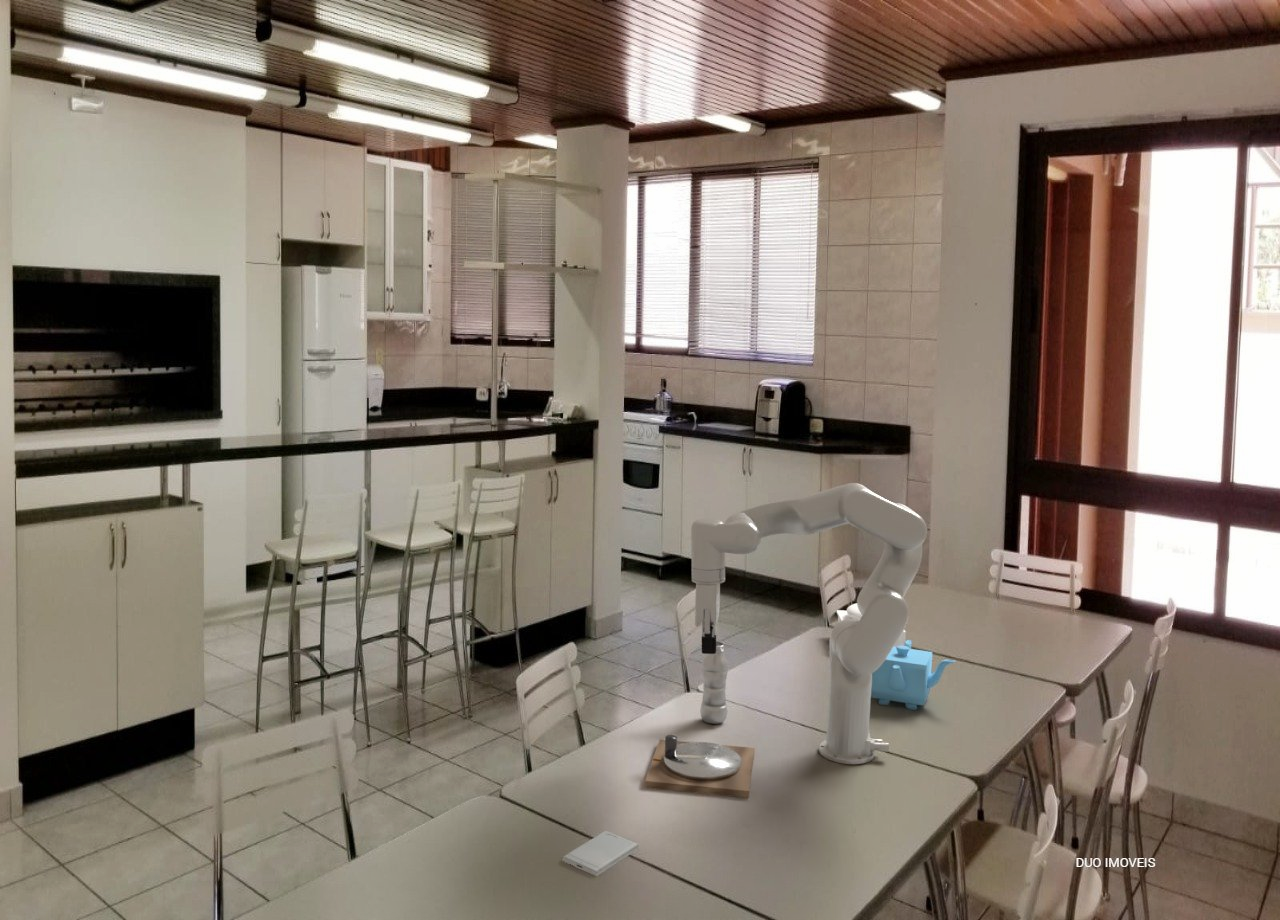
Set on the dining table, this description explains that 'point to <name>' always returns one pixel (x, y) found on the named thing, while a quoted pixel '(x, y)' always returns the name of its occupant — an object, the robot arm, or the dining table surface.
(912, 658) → the teakettle
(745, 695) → the dining table surface
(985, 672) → the dining table surface
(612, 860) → the hard drive
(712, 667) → the plastic bottle
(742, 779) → the dial base
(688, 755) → the dial
